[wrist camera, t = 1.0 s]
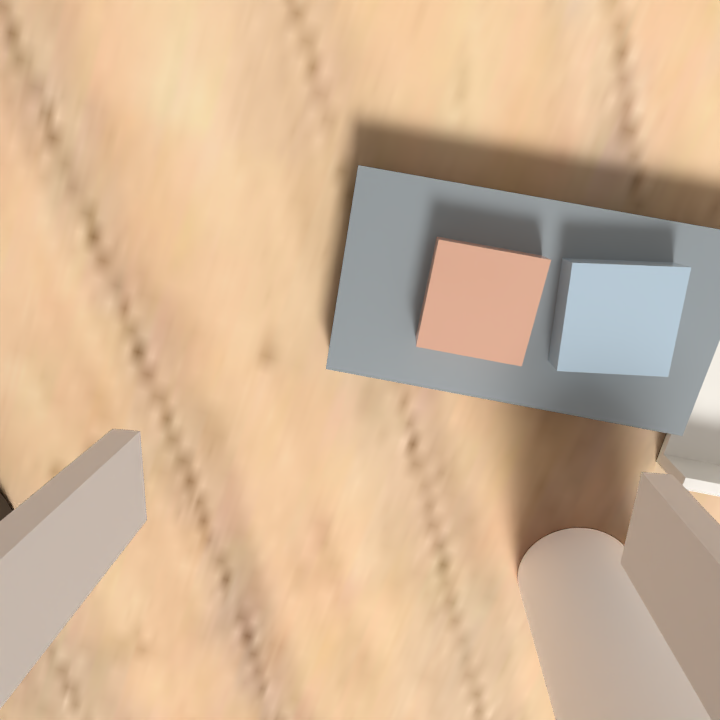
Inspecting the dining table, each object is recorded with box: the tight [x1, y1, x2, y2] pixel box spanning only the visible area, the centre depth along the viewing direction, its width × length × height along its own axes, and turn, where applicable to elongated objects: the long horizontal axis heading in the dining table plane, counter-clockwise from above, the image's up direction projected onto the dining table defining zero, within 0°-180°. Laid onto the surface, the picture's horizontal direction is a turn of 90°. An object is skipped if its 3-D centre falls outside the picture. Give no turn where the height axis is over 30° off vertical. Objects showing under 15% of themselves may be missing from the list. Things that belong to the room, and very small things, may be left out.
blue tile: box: [548, 258, 691, 377], centre depth 30 cm, size 6×6×2 cm
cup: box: [518, 528, 711, 720], centre depth 32 cm, size 8×8×16 cm
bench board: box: [326, 165, 720, 436], centre depth 33 cm, size 22×12×2 cm, turn 80°
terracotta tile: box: [416, 237, 551, 366], centre depth 31 cm, size 6×6×2 cm
